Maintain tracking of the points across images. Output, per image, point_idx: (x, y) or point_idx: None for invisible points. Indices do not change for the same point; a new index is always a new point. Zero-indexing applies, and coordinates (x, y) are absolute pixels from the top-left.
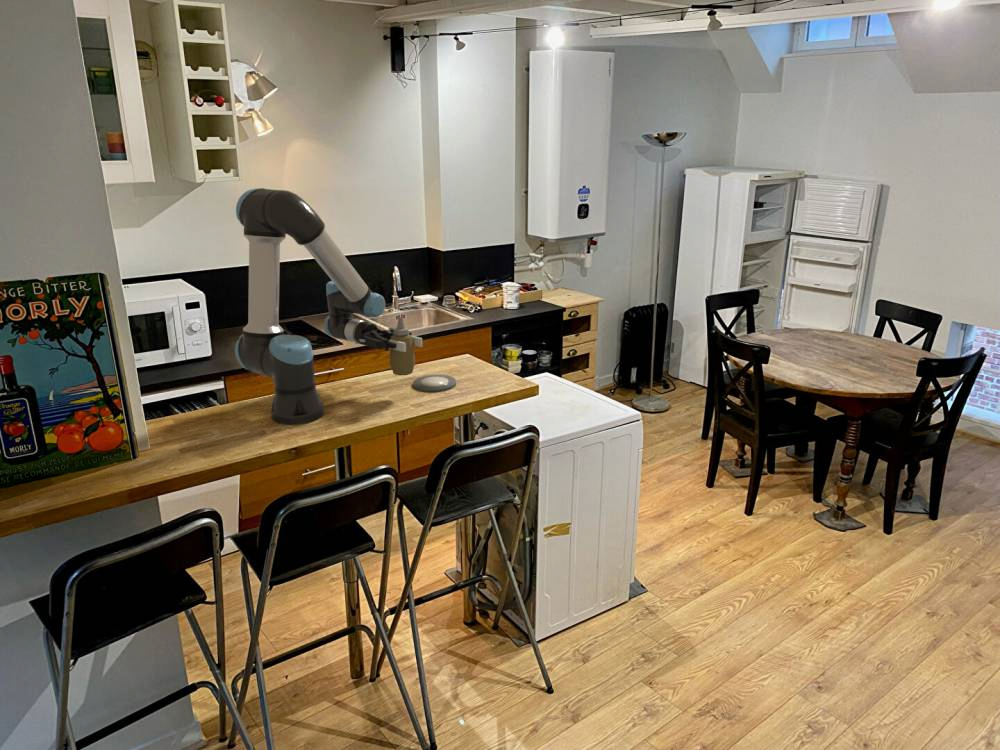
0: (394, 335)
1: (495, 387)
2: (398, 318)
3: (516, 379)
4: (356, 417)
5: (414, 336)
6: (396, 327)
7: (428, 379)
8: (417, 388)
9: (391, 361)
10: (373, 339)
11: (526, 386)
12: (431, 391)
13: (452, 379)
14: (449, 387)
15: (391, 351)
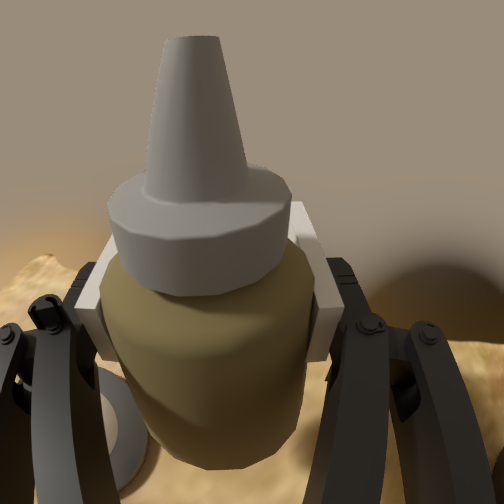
0: (272, 274)
1: (54, 294)
2: (214, 53)
3: (7, 286)
4: None
5: (111, 244)
6: (178, 232)
7: None
8: (144, 454)
9: (302, 398)
10: (468, 424)
11: (41, 259)
12: None
13: None
14: None
15: (305, 369)
